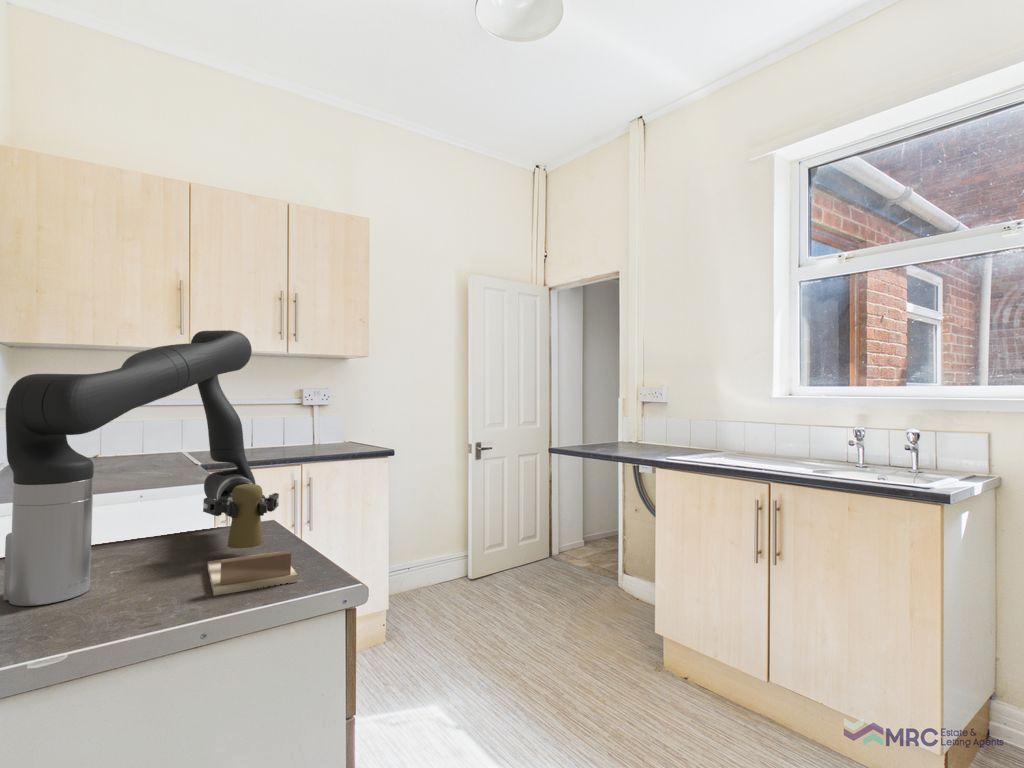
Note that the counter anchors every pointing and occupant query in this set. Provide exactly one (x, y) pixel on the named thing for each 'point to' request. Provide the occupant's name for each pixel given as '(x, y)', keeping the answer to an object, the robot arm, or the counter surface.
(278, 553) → the wooden stand base
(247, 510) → the cork
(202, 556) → the counter surface
